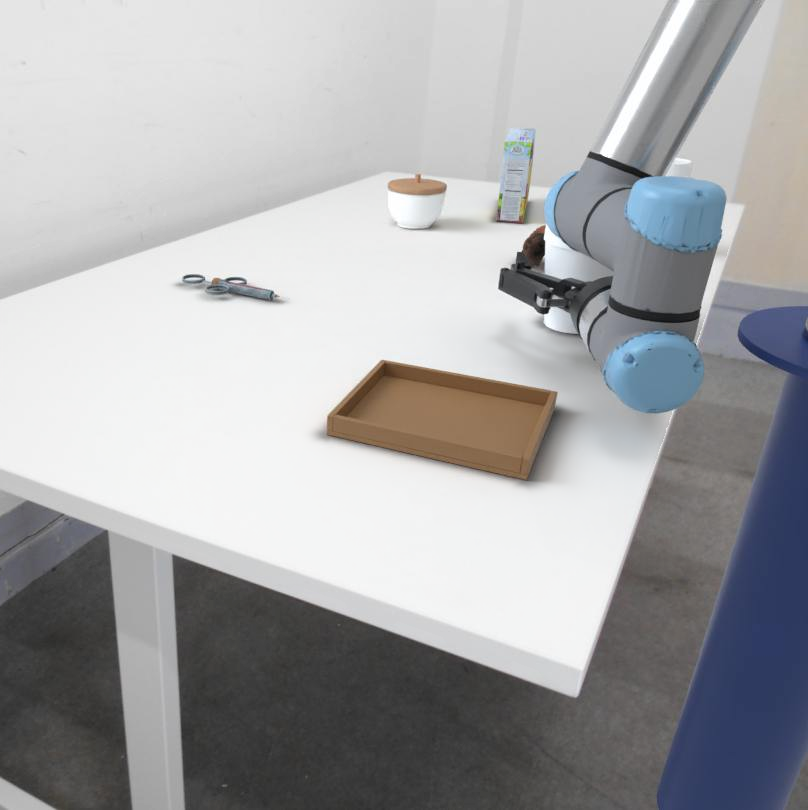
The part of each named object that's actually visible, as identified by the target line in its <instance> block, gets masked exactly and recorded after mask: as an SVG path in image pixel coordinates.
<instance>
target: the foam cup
mask: <svg viewBox="0 0 808 810" xmlns="http://www.w3.org/2000/svg"><path fill="white" fill-rule="evenodd" d="M545 225H546V228H545V234H544V240H545V256H544V274H546V275H549V276H553V277H556V278H559V279H566V278H574V279H577V280H581V281H584V282H588V281H594V280H597V279H599V278H603V277H608V276H613V275H614V271H612V270H610V269H609V268H607V267H605V266H603V265H602V264H600V263H599V262H597V261H596V260H594V259H592V258H590V257H588V256H587V255H585V254H583V253H581V252H578V251H575V250H573V249H571V248H569V246H568V245H566V244H565V243H563V242H562V240H561V239H560V238H558V237H557V236H556V235H554V234H553V233H552V232H551V230H550V229H549V227H548V226H547V224H546V223H545ZM573 288H575V287H573V286H572V289H573ZM543 324H544V325H545V326H546V328H549V329H551V330H553V331H555V332H560V333H563V334H572V335H579V334H578V332H577V331H576V329H575V327H574V325H573V322H572V319H571V315H570V313H568V312H566V311H564V310H563V309H560V308H558V307H551V309H550V310H549V313H548V314H543Z"/></svg>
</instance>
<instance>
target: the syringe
mask: <svg viewBox="0 0 808 810" xmlns="http://www.w3.org/2000/svg"><path fill="white" fill-rule="evenodd" d="M194 278H196V279H194ZM181 281H182V282H183V283H184V284H188V285H197V284H202V283H209V284H210V285H207V286H206V287H205V288H204V289H205V290H204V292H205V293H206V294H207V295H210V296H211V295H212V296H220V295H221V296H222V295H226V294H228V293H230V292H231V293H235V294H240V295H246V296H250V297H254V298H260V299H263V300H268V301H272V300H273V299H276V298H282V299H285V297H283V296H280V295H278V294H277V293H275V291H274V290H272V289H268V288H263V287H259V286H258V287H257V286H253V285H249V284H248V280H247V279H246V278H245V277H241V276H230V277H226V278H224V279H223V278H220V277H214V278H213V279H212V280H211V281H209V280H206V276H204V275H203V274H198V273H190V274H185V275H183V276H182V277H181ZM235 281H238V282H235ZM286 299H288V300H289V298H288V297H286Z"/></svg>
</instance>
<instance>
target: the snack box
mask: <svg viewBox="0 0 808 810" xmlns="http://www.w3.org/2000/svg"><path fill="white" fill-rule="evenodd" d="M536 130H537V129H536V128H535V127H511V128H510V129H509V131H508V134H507V136H506V137H505V140H504V143H503V154H502V164H501V174H500V183H499V191H498V192H499V193H498V202H497V210H496V211H497V212H496V218H495V221H496V222H499V223H501V222H504V223H516V224H522V223H524V219H525V214H526V209H527V205H528V202H529V201H528V200H529V194H530V189H531V188H530V187H531V182H532V181H531V180H532V171H533V161H534V155H535V154H534V153H535V142H536Z"/></svg>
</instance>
